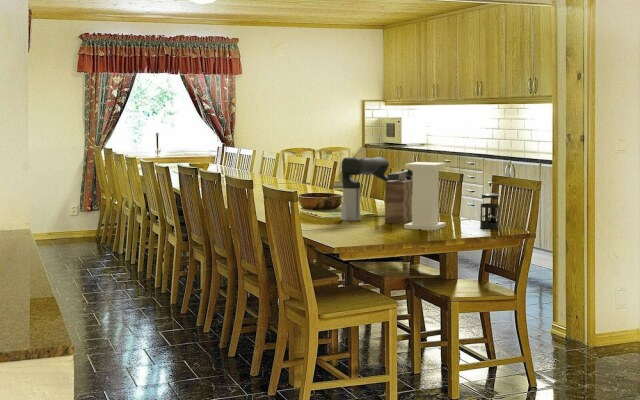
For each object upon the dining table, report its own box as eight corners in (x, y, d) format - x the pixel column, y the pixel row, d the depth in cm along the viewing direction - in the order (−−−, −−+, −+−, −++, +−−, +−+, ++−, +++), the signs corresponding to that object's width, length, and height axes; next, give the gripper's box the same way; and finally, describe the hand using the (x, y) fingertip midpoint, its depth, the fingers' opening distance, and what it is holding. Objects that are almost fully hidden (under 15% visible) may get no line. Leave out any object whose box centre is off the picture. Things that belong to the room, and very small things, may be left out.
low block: (403, 223, 430) (403, 182, 428) (385, 222, 435) (385, 181, 433) (411, 220, 441) (411, 180, 439) (393, 219, 446) (394, 179, 443)
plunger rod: (396, 180, 425) (396, 174, 425) (385, 180, 428) (385, 174, 427) (415, 175, 448) (415, 169, 448) (404, 175, 451) (404, 169, 451)
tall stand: (434, 230, 406) (435, 164, 402) (404, 228, 413) (404, 163, 410) (445, 226, 420) (446, 162, 416) (415, 224, 427) (416, 161, 424)
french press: (495, 230, 406) (495, 183, 404) (476, 229, 411) (477, 182, 408) (502, 227, 416) (503, 181, 414) (484, 226, 421) (485, 180, 418)
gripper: (426, 191, 453) (416, 177, 439) (401, 190, 459) (391, 176, 445) (428, 178, 455) (419, 164, 441) (404, 177, 462) (394, 163, 448)
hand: (405, 170), depth 443 cm, fingers closed on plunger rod, 3 cm apart
